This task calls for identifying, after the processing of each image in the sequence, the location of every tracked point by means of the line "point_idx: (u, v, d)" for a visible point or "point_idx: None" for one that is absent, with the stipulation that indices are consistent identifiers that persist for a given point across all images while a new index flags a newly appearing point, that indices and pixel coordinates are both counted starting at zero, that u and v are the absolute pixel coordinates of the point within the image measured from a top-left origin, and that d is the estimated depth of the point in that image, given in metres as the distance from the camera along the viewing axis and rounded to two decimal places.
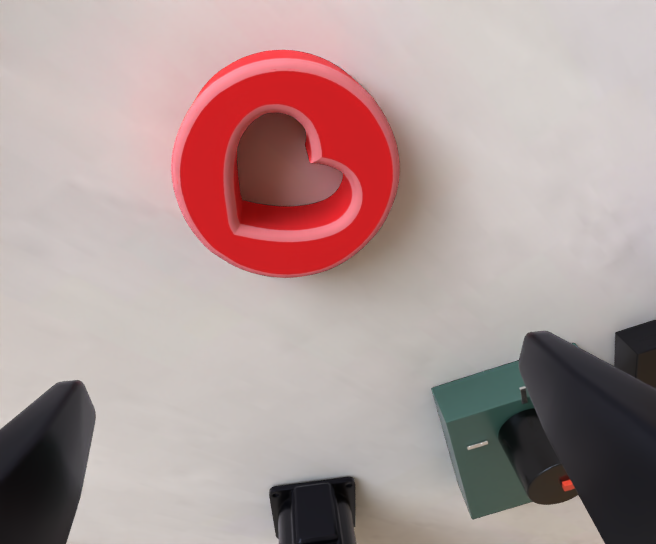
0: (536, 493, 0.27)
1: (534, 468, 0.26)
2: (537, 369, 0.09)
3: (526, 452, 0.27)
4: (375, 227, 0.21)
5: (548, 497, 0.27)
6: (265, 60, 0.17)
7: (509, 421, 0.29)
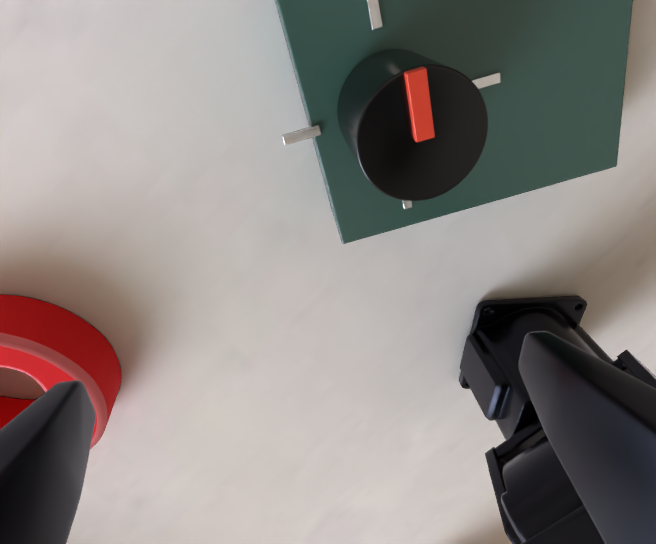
0: (434, 182, 0.14)
1: None
2: (537, 369, 0.09)
3: None
4: (25, 352, 0.20)
5: (458, 154, 0.14)
6: None
7: None
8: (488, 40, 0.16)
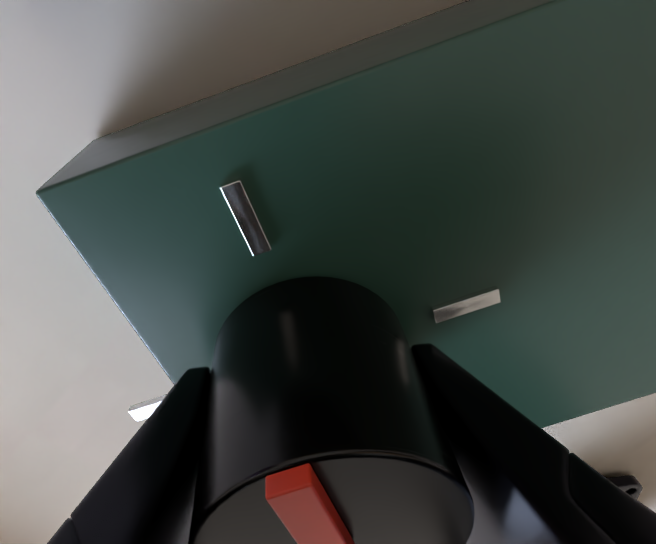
0: None
1: None
2: None
3: None
4: None
5: None
6: None
7: None
8: (474, 245, 0.09)
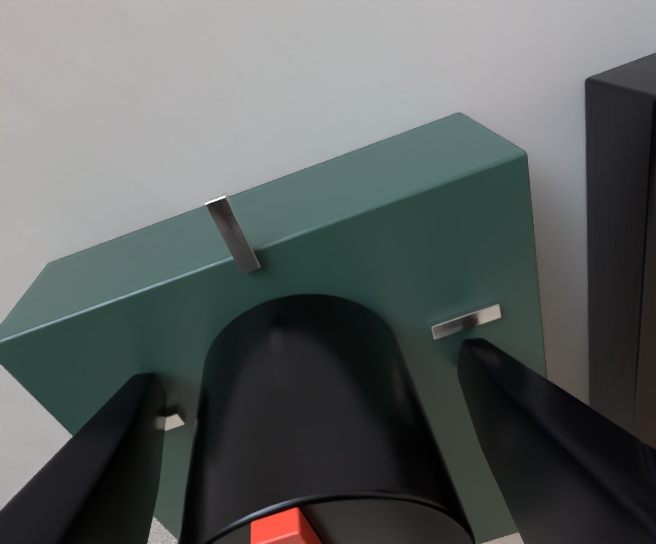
0: None
1: None
2: (471, 376, 0.09)
3: None
4: None
5: None
6: None
7: None
8: None
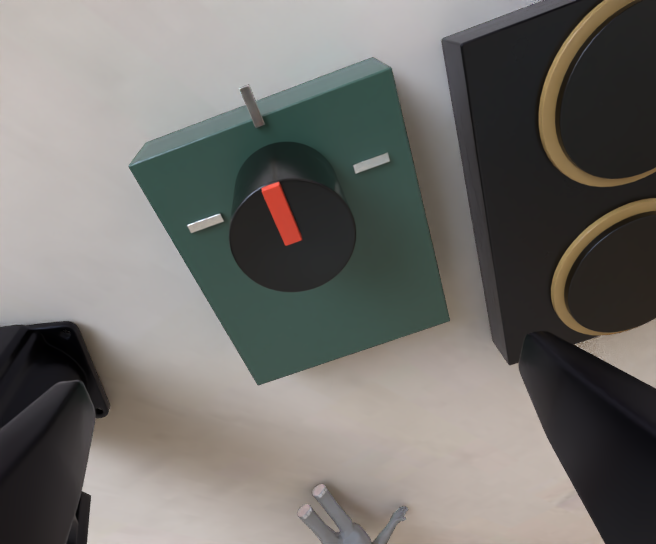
0: (314, 275, 0.15)
1: None
2: (537, 369, 0.09)
3: None
4: None
5: (331, 249, 0.15)
6: None
7: None
8: None
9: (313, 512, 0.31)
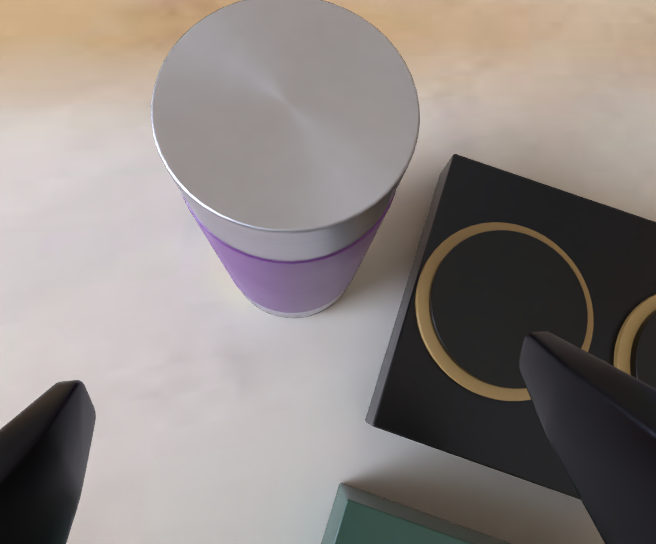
0: None
1: None
2: (537, 369, 0.09)
3: None
4: None
5: None
6: None
7: None
8: None
9: None
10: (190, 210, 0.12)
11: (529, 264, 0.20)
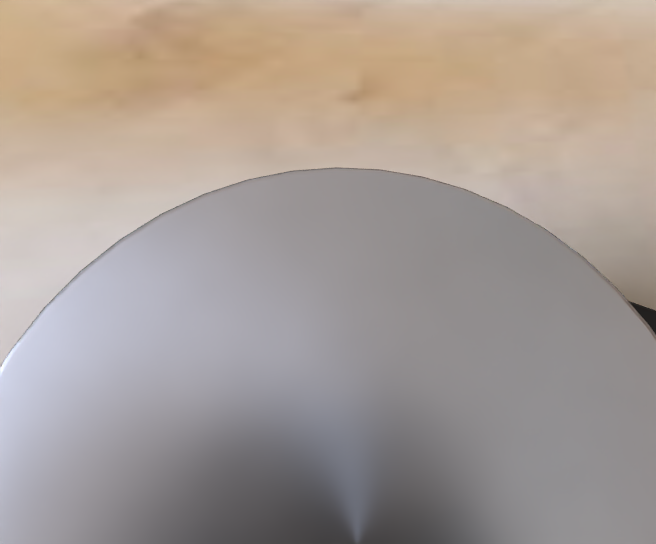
0: None
1: None
2: None
3: None
4: None
5: None
6: None
7: None
8: None
9: None
10: None
11: None
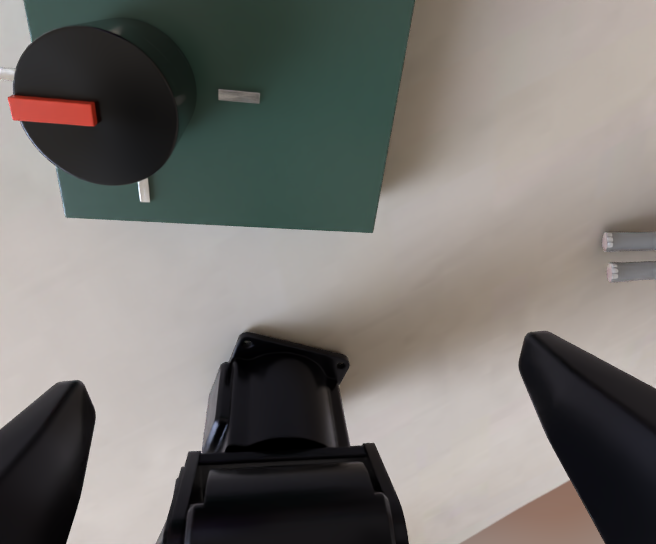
0: (157, 111, 0.12)
1: None
2: (537, 369, 0.09)
3: None
4: None
5: (125, 74, 0.11)
6: None
7: None
8: (252, 55, 0.15)
9: (621, 264, 0.23)
10: None
11: None
